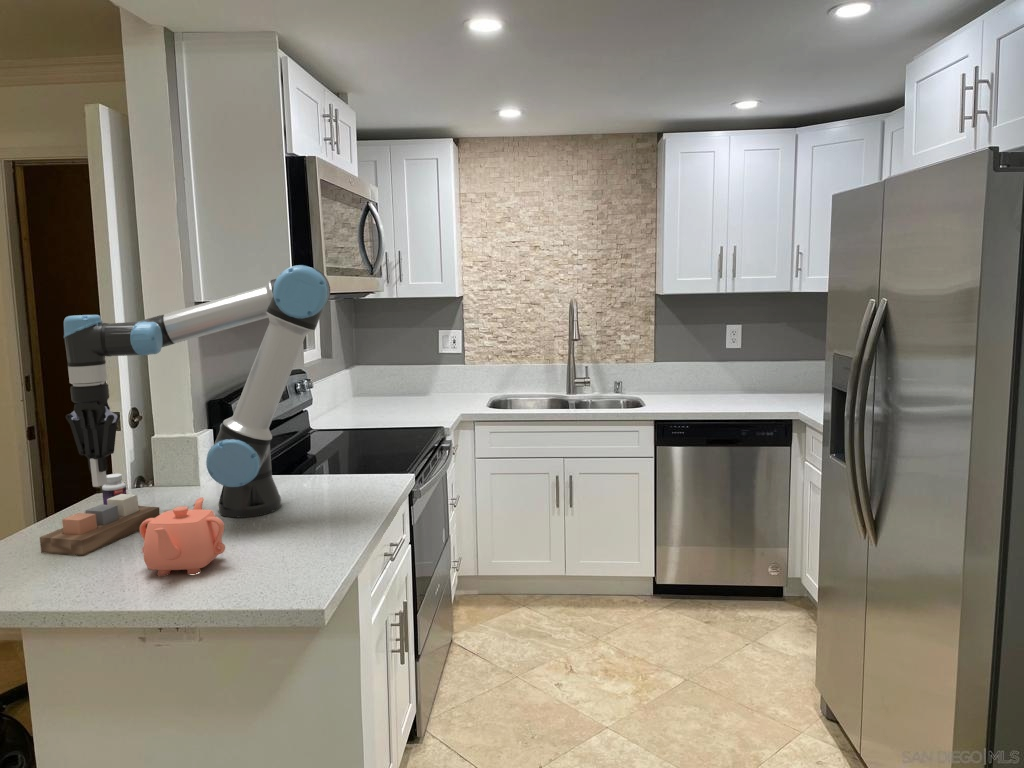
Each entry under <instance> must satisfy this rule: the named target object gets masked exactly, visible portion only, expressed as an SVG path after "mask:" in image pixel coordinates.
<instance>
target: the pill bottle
mask: <svg viewBox="0 0 1024 768" xmlns="http://www.w3.org/2000/svg"><path fill="white" fill-rule="evenodd" d="M106 477H107V484H105V485H102V486H101V492H102V501H103V504H102V505H107V499H109V498H112V497H114V496H117V495H120V494H127V487H126V483H125V482H124V481H122V480H123V475H122V473H111V474H106Z"/></svg>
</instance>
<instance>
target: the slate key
mask: <svg viewBox="0 0 1024 768" xmlns="http://www.w3.org/2000/svg"><path fill="white" fill-rule="evenodd" d="M84 511H85V513H88V514H96V523H97V525H102V526H104V525H106V524H109V523H111V522H113V521H116V520H118V519H119V518H118V507H117V505H104V504H98V505H96V506H94V507H91V508H87V509H86V510H84Z"/></svg>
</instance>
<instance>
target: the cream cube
mask: <svg viewBox="0 0 1024 768" xmlns="http://www.w3.org/2000/svg"><path fill="white" fill-rule="evenodd" d="M138 499H139V498H138V494H129V493H126V494H120V495H117V496H114V497H112V498H109V499H107V505H117V507H118V516H121V517H125V516H128V515H130V514H133V513H135V512H137V511H139V508H138V506H139V500H138Z"/></svg>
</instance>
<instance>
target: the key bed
mask: <svg viewBox="0 0 1024 768" xmlns="http://www.w3.org/2000/svg"><path fill="white" fill-rule="evenodd" d="M138 508H139V511H137V512H135V513H133V514H130V515H128V516H125V517H121V516H118V518H119V519H118V520H116V521H113V522H111V523H109V524H106V525H104V526H102V525H97V529H94V530H92V531H89V532H87V533H85V534H82V535H73V534H64V532H63V527H62V528H60V529H57V530H54V531H52V532H49V533H46V534H44V535H42V536H39V543H40V544H39V545H40V551H41V553H42V554H52V555H53V554H54V555H64V556H65V555H67V556H77V557H84V556H87V555H88V554H91V553H93V552H95V551H97V550H99V549H102V548H104V547H106V546H109V545H110V544H113V543H116V542H117V541H119V540H121V539H124V538H127V537H128V536H130V535H132V534H135V533H137V532H140V525H141V524H142V522H143V521H145V520H146V519H149V518H155V517H157V516H158V515H160V514H161V511H160V506H146V505H144V506H143V505H138ZM147 525H148V524H146V528H147Z"/></svg>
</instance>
